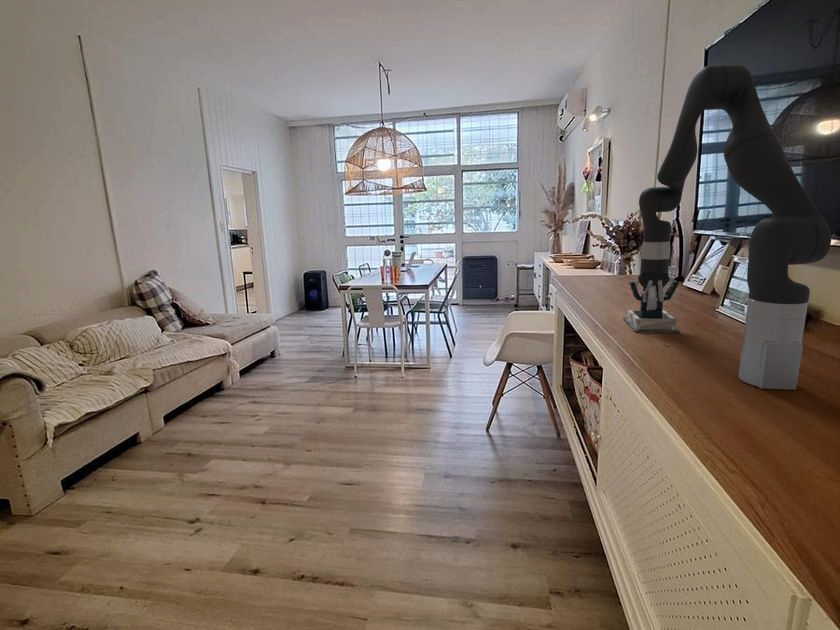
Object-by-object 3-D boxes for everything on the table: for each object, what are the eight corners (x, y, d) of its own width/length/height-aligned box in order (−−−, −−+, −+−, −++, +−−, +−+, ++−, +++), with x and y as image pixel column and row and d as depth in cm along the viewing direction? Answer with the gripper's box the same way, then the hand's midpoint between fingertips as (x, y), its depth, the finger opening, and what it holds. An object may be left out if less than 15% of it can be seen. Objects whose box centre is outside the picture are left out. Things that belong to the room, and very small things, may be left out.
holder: (680, 333, 125) (681, 321, 125) (634, 332, 128) (635, 320, 127) (663, 319, 140) (664, 308, 140) (623, 319, 143) (623, 308, 142)
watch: (660, 317, 136) (660, 282, 134) (663, 322, 129) (662, 285, 127) (640, 317, 138) (639, 283, 137) (642, 323, 131) (641, 286, 129)
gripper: (632, 258, 127) (628, 316, 131) (686, 257, 124) (680, 316, 128) (626, 256, 135) (623, 310, 138) (677, 255, 131) (672, 311, 135)
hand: (651, 313), depth 133 cm, fingers closed on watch, 3 cm apart
